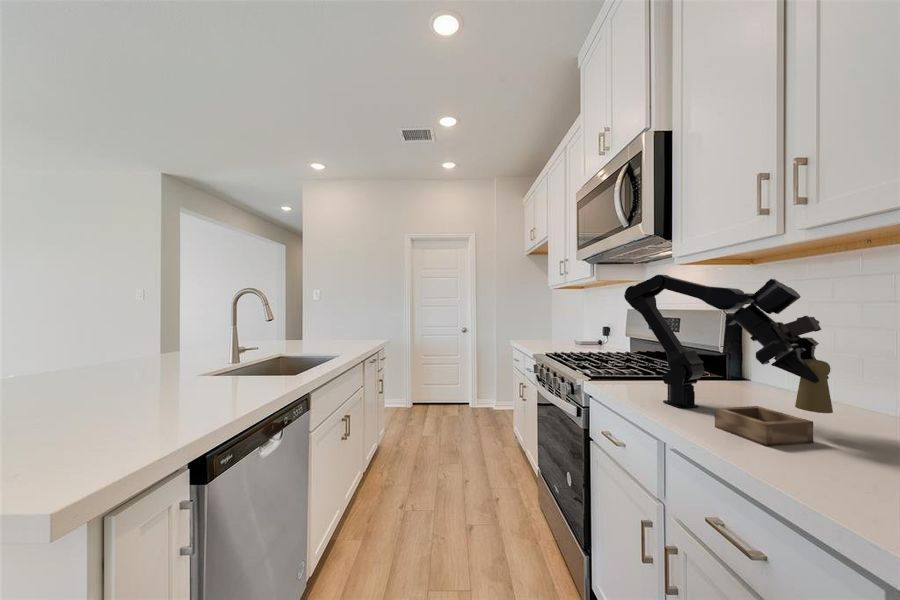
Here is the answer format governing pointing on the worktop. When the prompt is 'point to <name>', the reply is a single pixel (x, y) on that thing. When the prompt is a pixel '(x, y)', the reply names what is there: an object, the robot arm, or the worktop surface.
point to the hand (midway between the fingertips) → (822, 380)
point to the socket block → (764, 425)
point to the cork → (815, 389)
